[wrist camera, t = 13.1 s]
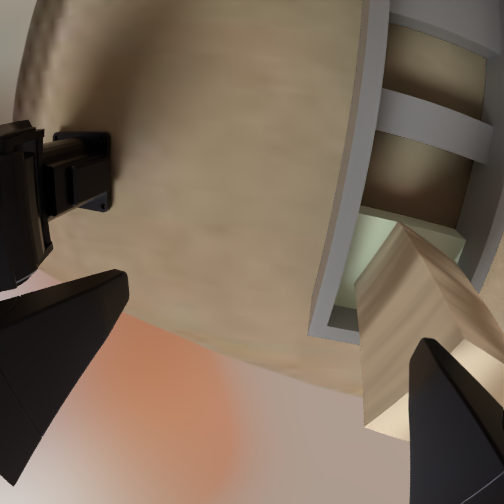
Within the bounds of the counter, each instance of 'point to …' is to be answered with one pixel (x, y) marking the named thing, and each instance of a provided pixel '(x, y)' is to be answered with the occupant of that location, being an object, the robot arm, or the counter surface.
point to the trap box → (422, 130)
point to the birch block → (419, 325)
